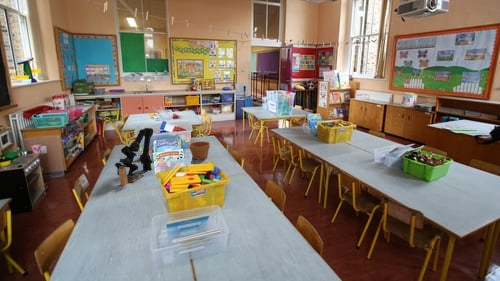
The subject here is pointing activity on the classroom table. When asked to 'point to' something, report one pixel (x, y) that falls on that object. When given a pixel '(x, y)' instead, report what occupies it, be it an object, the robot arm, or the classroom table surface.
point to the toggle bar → (123, 176)
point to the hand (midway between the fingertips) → (122, 175)
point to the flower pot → (199, 150)
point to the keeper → (134, 177)
